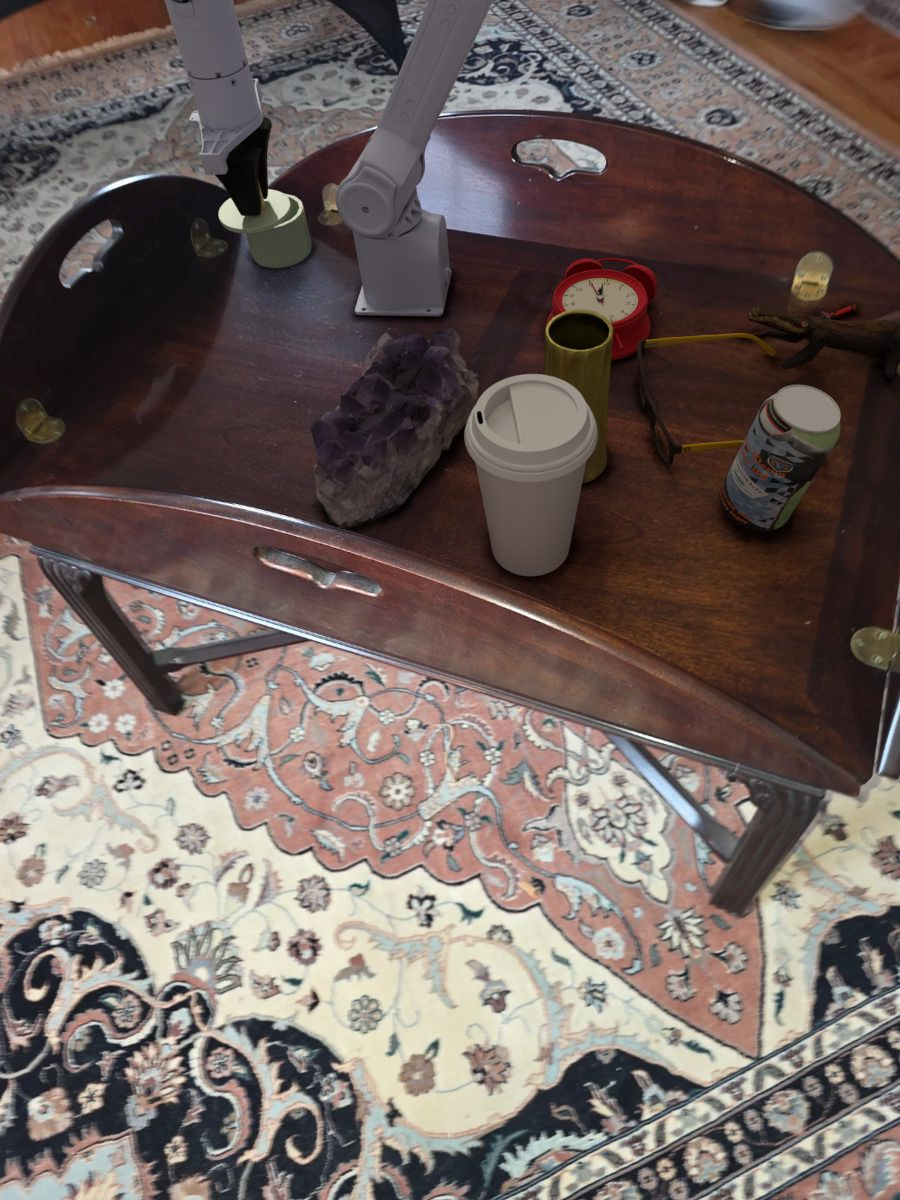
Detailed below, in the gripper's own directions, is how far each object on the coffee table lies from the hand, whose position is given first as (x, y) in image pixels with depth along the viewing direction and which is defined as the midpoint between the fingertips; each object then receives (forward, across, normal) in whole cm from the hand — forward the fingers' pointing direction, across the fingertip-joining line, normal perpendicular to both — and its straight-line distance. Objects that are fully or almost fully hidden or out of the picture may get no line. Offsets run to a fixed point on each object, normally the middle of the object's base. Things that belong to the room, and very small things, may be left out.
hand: (254, 205), depth 91 cm
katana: (+9, +9, +56) cm, 57 cm away
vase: (+9, +27, +34) cm, 44 cm away
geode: (+9, +26, +18) cm, 33 cm away
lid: (+1, 0, 0) cm, 1 cm away
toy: (+9, +13, +60) cm, 62 cm away
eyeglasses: (+9, +20, +47) cm, 52 cm away
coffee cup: (+9, +37, +31) cm, 49 cm away
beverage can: (+9, +32, +50) cm, 60 cm away
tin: (+9, -6, 0) cm, 11 cm away
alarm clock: (+9, +7, +36) cm, 38 cm away
